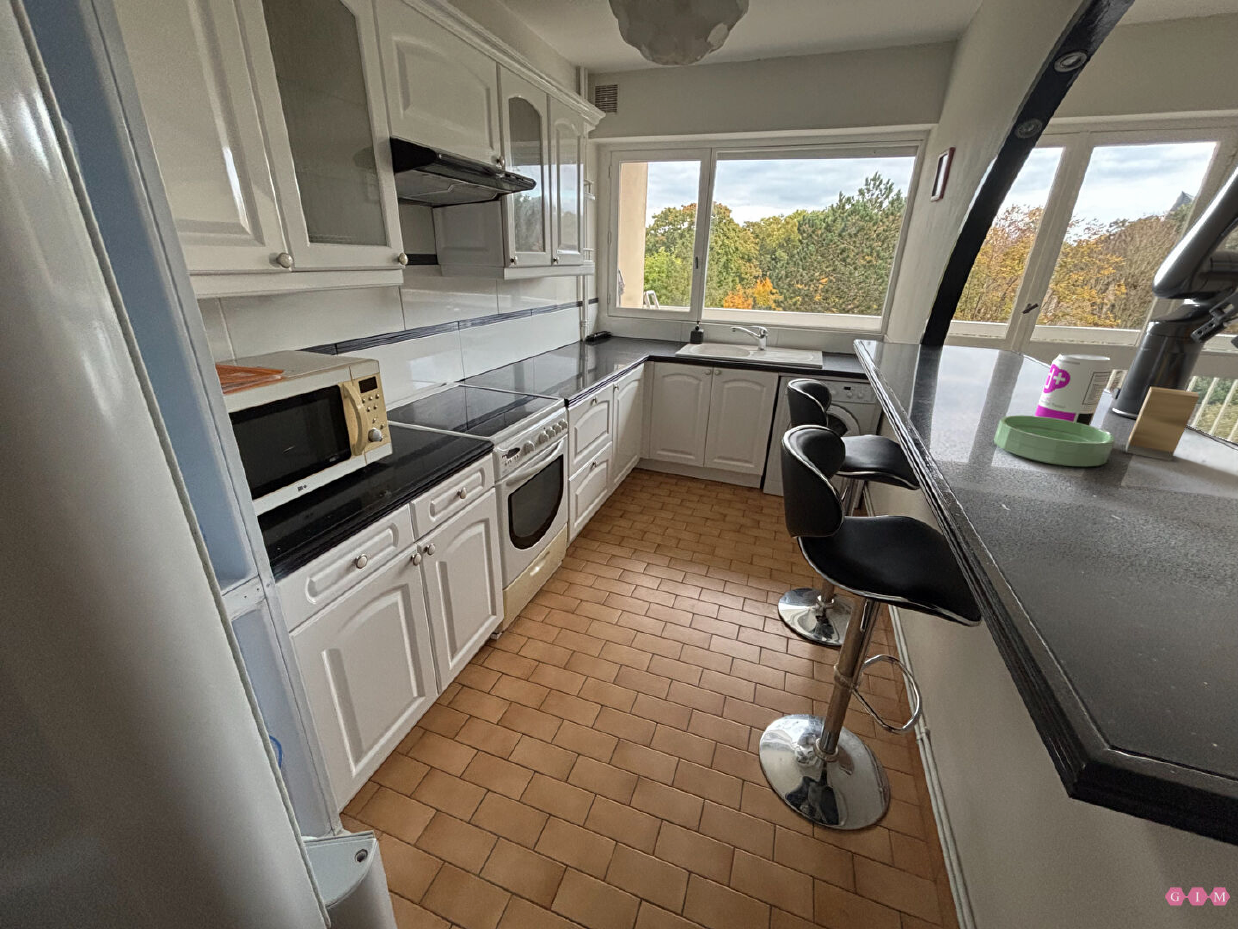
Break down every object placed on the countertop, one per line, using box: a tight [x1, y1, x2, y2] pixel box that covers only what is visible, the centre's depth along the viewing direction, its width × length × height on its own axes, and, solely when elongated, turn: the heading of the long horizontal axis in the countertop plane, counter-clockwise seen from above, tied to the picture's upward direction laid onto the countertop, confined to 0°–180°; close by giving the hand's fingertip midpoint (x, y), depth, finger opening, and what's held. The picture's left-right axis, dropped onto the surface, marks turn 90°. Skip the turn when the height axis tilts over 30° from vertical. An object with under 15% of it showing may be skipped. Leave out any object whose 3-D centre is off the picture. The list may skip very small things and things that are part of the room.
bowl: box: [993, 414, 1116, 467], centre depth 87 cm, size 15×15×4 cm
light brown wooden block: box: [1125, 387, 1200, 462], centre depth 86 cm, size 4×6×11 cm
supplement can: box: [1034, 352, 1113, 426], centre depth 94 cm, size 8×8×15 cm
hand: (1215, 342), depth 86 cm, fingers open, 8 cm apart
